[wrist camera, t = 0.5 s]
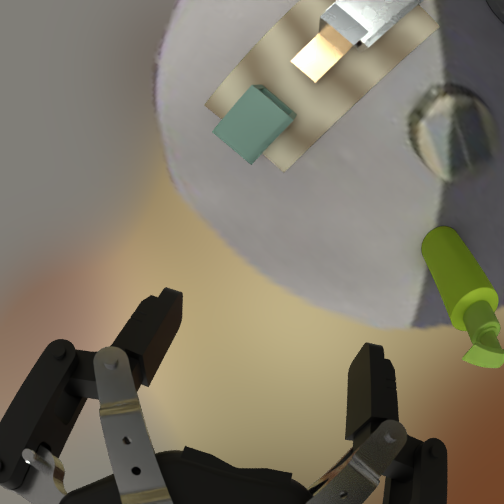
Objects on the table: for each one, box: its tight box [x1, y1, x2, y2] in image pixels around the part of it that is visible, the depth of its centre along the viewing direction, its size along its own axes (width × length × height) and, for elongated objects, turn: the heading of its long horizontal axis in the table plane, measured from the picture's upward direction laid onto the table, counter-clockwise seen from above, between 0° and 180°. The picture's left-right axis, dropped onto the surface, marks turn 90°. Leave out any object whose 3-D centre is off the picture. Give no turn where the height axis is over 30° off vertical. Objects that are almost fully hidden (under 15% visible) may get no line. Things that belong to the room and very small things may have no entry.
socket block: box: [212, 84, 297, 165], centre depth 29 cm, size 6×5×6 cm
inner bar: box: [291, 3, 369, 82], centre depth 18 cm, size 18×3×10 cm, turn 140°
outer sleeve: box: [325, 0, 423, 53], centre depth 20 cm, size 10×5×6 cm, turn 140°
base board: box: [205, 0, 440, 172], centre depth 27 cm, size 26×12×1 cm, turn 140°
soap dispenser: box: [422, 226, 504, 368], centre depth 27 cm, size 6×7×20 cm
